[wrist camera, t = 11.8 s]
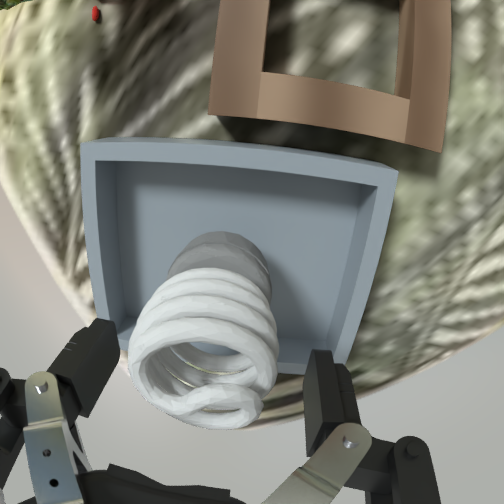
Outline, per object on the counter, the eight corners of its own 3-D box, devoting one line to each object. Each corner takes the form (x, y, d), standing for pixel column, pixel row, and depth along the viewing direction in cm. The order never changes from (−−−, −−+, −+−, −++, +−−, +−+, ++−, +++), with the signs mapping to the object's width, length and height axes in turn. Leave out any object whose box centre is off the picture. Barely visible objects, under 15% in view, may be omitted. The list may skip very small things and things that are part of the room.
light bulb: (284, 226, 19) (312, 374, 8) (256, 302, 21) (252, 463, 10) (194, 199, 19) (108, 318, 8) (175, 279, 21) (109, 426, 10)
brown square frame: (431, -22, 12) (447, -34, 10) (422, 148, 17) (441, 153, 15) (238, -62, 12) (234, -80, 10) (215, 115, 17) (207, 114, 15)
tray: (377, 161, 18) (398, 171, 15) (333, 344, 23) (340, 376, 20) (108, 137, 18) (80, 143, 15) (120, 318, 24) (103, 345, 20)
